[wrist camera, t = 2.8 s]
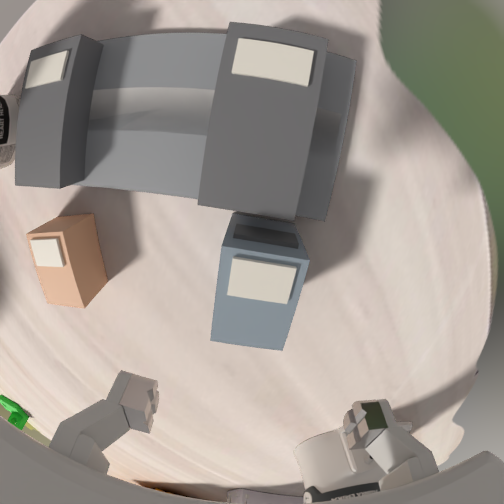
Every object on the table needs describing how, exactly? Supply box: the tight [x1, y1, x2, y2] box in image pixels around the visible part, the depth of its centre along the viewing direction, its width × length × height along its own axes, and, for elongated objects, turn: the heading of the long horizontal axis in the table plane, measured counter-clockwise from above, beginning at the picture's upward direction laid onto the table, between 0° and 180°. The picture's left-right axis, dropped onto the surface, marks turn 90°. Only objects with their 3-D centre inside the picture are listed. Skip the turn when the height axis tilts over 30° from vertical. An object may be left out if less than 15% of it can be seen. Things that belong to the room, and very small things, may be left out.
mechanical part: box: [0, 395, 29, 430], centre depth 40 cm, size 12×6×8 cm, turn 92°
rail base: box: [15, 22, 356, 221], centre depth 16 cm, size 27×13×5 cm, turn 80°
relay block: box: [26, 214, 108, 308], centre depth 21 cm, size 5×7×5 cm
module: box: [210, 213, 310, 351], centre depth 19 cm, size 5×7×7 cm
